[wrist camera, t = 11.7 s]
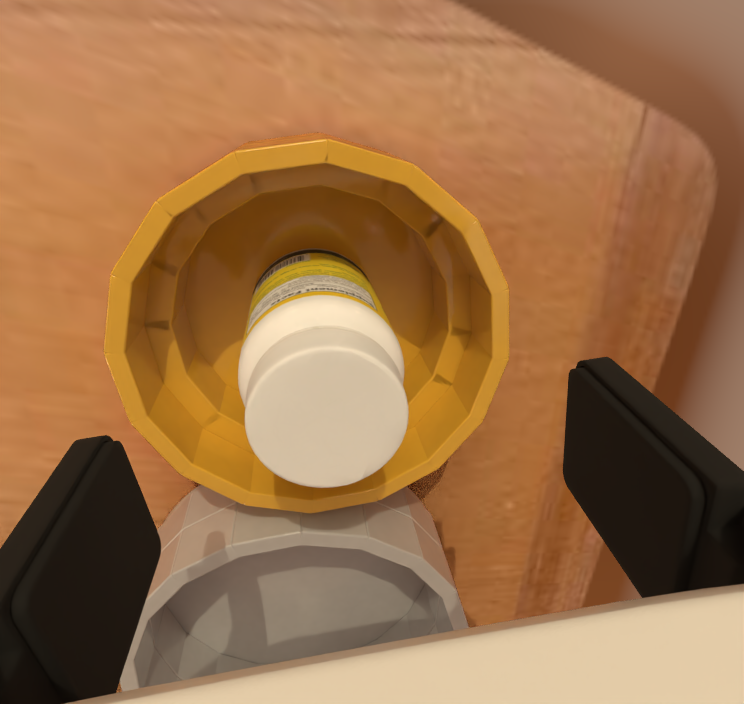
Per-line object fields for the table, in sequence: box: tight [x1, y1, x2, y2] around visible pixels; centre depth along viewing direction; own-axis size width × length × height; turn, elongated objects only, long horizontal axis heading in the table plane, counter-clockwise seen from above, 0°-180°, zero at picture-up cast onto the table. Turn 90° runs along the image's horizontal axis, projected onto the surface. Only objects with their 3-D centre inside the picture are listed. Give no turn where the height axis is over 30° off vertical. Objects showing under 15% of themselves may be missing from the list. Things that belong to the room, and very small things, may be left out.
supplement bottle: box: [238, 248, 409, 488], centre depth 16 cm, size 5×5×8 cm
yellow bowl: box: [104, 132, 509, 514], centre depth 18 cm, size 12×12×5 cm
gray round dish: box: [120, 485, 469, 692], centre depth 24 cm, size 14×15×5 cm
